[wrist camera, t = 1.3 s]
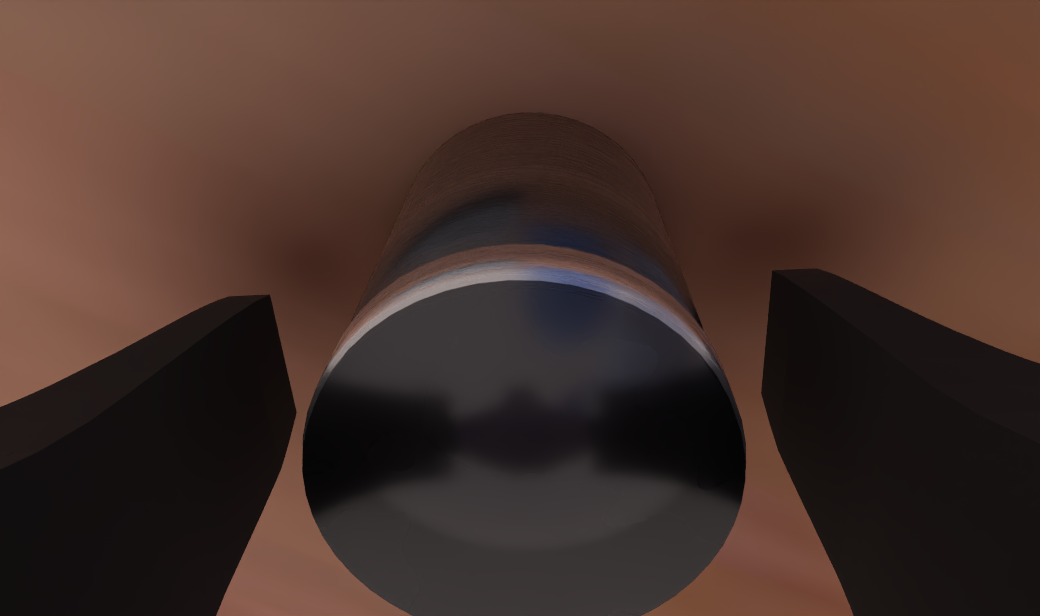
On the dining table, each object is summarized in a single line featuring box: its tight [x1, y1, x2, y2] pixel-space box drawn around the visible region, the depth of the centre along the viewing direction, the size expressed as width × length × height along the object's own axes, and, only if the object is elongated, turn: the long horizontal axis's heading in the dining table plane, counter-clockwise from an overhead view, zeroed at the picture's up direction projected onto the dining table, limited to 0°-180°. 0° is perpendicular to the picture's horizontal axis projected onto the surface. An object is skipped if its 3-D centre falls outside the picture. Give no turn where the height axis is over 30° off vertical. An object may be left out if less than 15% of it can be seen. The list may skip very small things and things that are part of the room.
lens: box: [302, 113, 746, 616], centre depth 12 cm, size 5×5×7 cm
